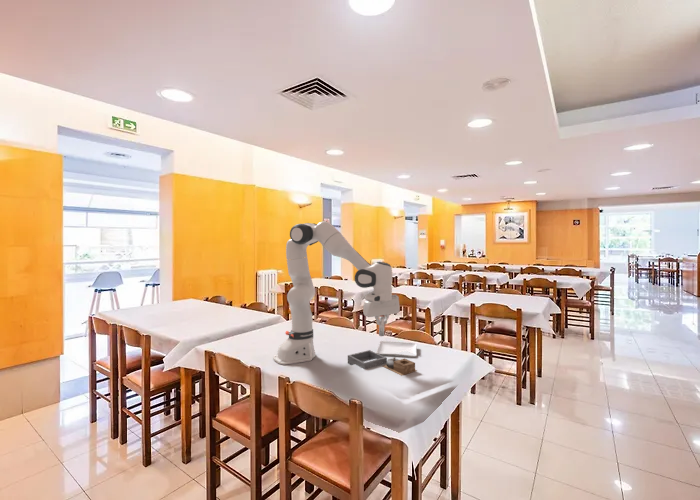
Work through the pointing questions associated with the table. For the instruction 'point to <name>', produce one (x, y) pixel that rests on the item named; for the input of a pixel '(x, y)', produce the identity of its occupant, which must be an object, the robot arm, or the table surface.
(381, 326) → the lock pin
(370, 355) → the tray
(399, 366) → the pulley bracket
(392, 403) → the table surface
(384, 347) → the salad plate
